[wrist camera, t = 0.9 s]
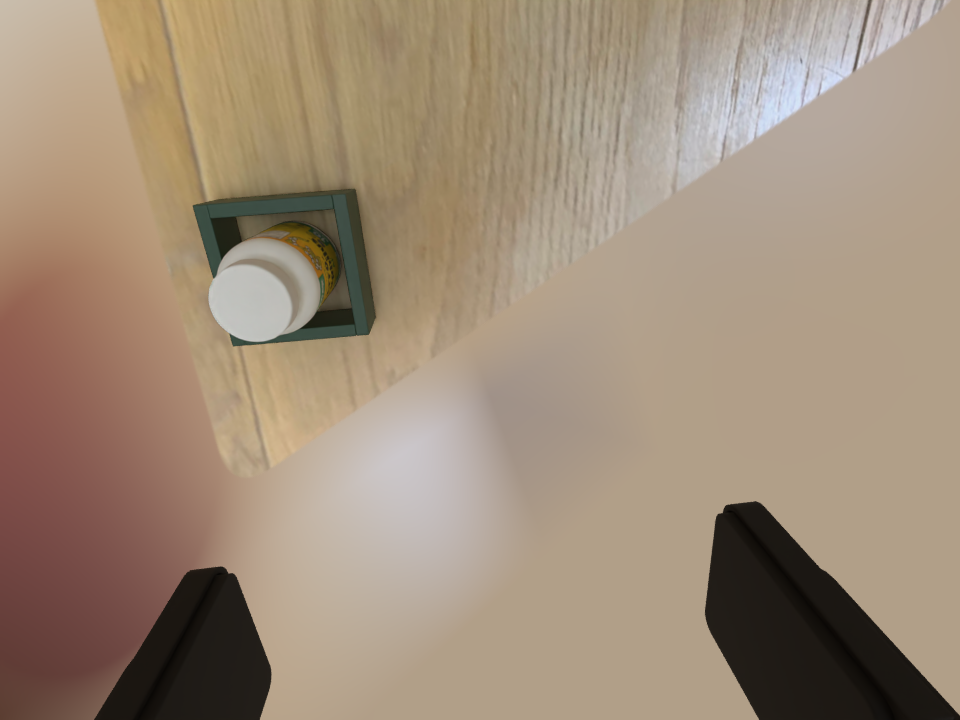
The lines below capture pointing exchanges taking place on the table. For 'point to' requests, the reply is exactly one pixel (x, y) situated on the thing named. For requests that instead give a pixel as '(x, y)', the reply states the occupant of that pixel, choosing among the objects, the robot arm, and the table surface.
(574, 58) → the table surface
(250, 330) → the supplement bottle
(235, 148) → the table surface
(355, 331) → the open square frame
